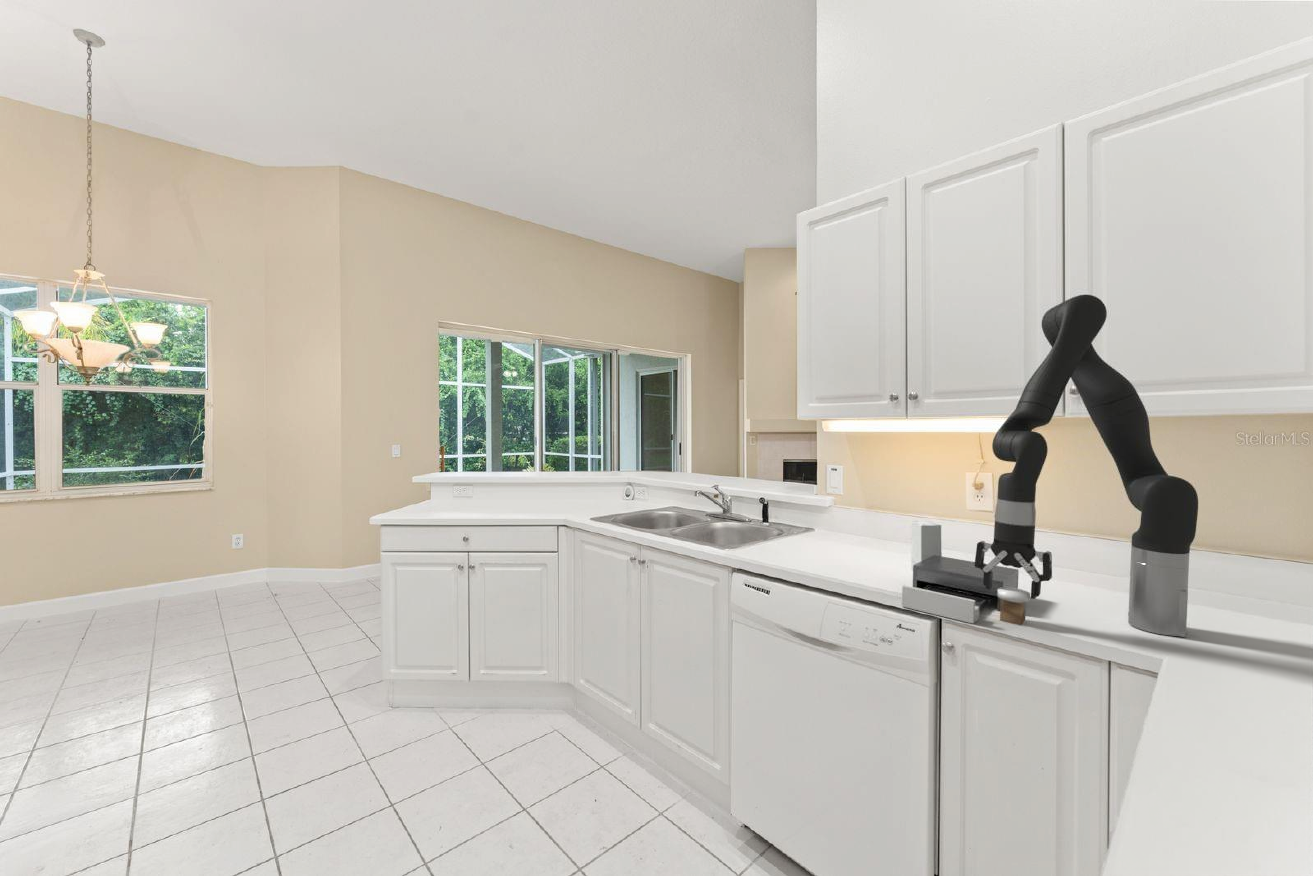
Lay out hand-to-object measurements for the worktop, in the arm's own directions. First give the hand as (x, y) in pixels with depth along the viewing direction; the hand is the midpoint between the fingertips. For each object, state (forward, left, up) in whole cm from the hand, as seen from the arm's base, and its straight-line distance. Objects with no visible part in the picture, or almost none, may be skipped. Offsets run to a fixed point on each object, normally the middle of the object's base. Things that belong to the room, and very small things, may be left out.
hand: (1010, 593), depth 121 cm
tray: (+12, 0, -6) cm, 14 cm away
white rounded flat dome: (-1, 0, -1) cm, 1 cm away
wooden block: (-1, 0, -6) cm, 6 cm away
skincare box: (+26, -27, -6) cm, 38 cm away
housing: (+12, -13, -6) cm, 19 cm away
